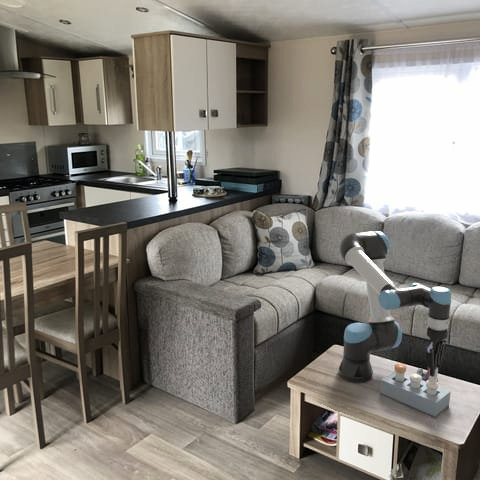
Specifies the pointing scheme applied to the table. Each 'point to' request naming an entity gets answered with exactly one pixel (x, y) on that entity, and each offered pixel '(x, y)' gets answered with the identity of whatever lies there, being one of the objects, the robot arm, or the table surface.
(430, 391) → the cream plunger
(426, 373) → the brake caliper
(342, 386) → the table surface
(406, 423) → the table surface
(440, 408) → the blue peg holder block
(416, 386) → the cream plunger
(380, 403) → the table surface
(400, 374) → the peach ball knob
